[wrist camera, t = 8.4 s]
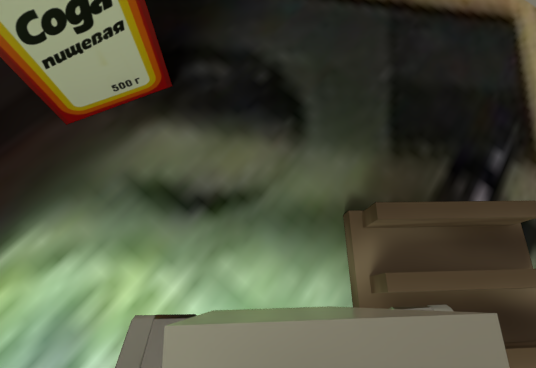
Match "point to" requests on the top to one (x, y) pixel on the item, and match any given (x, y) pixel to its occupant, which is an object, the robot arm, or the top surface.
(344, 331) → the clay tile
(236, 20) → the top surface
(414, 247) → the rack
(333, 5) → the top surface
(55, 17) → the baking soda box
